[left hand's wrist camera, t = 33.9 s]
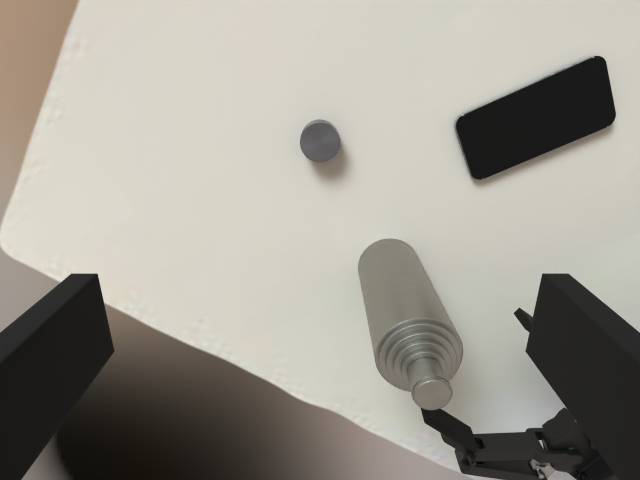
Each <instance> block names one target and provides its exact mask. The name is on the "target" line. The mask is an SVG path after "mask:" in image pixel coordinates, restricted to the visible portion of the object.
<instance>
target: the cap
mask: <svg viewBox="0 0 640 480" xmlns="http://www.w3.org/2000/svg"><path fill="white" fill-rule="evenodd" d="M339 144H340V141H339V135H338V132H337V130H336V128H335V127H334V126H333V125H332V124H331V123H330V122H328V121H325V120H315V121H312V122H310V123H309V124H307V125H306V127H305V128H304V129H303V132H302V135H301V138H300V146H301V149H302V152H303V153H304V155H305V156H306V157H307V158H309V159H310V160H312V161H315V162H324V161H327V160H329V159H331V158H332V157H333V156H334V155H335V154H336V153H337V151H338V149H339Z"/></svg>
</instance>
